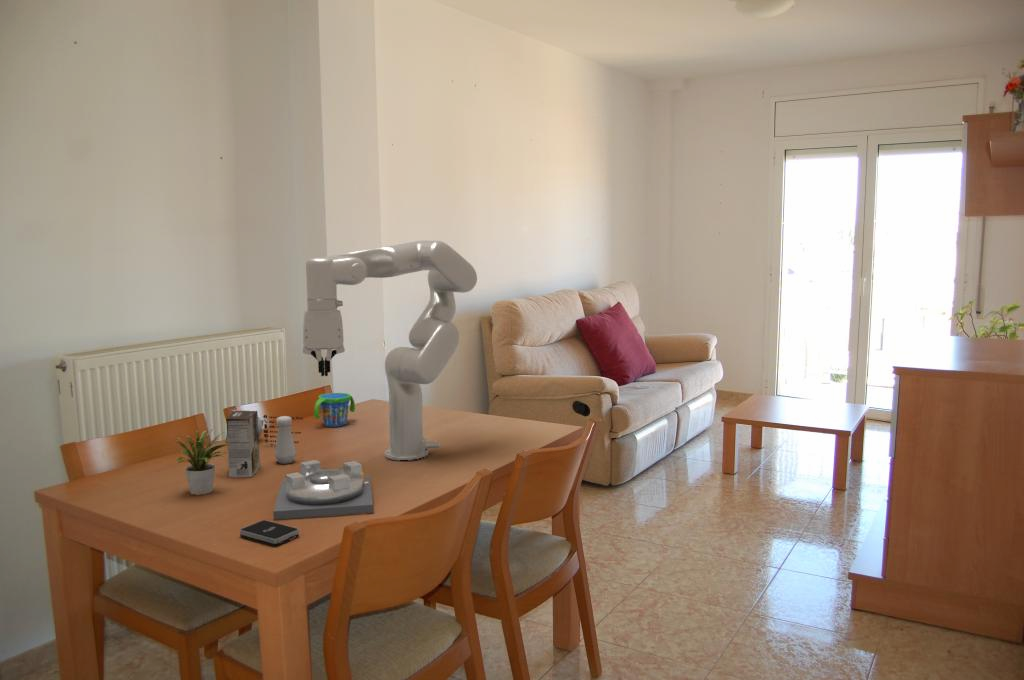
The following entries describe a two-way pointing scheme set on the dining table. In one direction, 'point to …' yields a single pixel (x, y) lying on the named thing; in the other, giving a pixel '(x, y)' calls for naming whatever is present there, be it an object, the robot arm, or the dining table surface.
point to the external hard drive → (269, 533)
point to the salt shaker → (284, 441)
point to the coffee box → (243, 443)
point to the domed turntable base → (324, 483)
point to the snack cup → (334, 408)
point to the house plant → (200, 463)
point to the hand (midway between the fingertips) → (324, 375)
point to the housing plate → (323, 505)
